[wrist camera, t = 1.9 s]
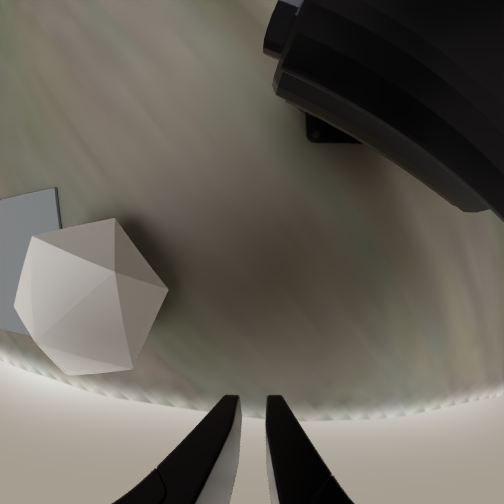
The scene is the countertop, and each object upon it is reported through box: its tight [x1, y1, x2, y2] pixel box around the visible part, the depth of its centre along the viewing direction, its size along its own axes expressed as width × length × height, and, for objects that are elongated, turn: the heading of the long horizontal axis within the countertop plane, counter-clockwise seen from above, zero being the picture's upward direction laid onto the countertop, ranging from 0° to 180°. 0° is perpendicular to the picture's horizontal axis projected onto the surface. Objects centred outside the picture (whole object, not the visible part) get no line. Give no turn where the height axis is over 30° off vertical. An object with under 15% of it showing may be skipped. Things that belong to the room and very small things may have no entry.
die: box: [14, 218, 169, 376], centre depth 15 cm, size 8×9×10 cm
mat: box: [0, 188, 62, 336], centre depth 21 cm, size 14×13×1 cm
